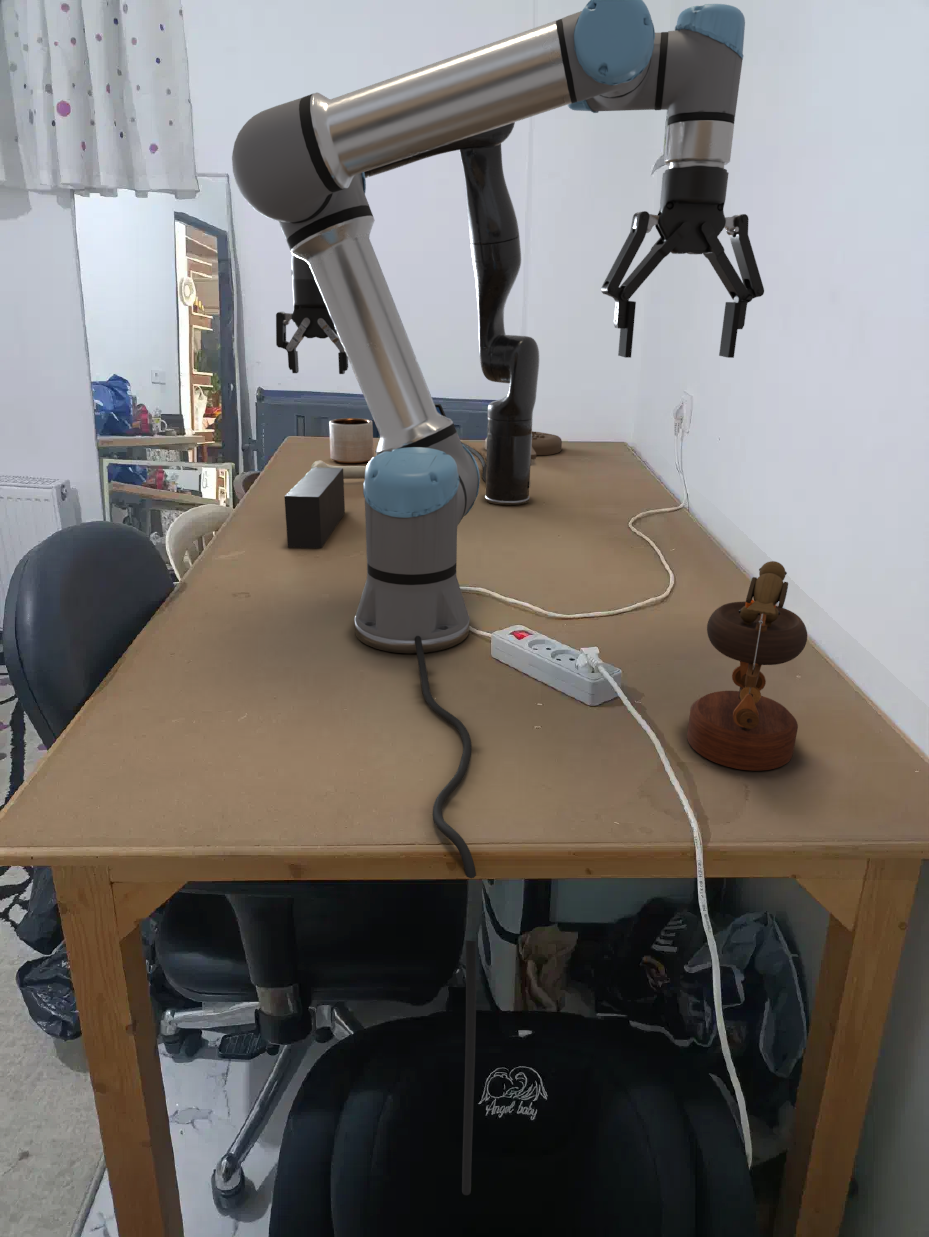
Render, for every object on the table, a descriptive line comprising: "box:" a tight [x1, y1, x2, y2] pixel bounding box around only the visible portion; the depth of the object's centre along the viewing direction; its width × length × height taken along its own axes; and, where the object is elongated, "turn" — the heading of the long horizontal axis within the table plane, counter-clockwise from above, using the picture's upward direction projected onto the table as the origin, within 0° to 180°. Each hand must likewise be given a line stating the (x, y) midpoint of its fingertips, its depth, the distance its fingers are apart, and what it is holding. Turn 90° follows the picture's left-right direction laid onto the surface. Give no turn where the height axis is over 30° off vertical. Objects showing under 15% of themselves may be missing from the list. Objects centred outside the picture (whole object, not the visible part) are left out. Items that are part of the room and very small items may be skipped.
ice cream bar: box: [484, 431, 563, 460], centre depth 224 cm, size 21×28×4 cm
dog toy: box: [310, 460, 367, 480], centre depth 190 cm, size 20×6×5 cm, turn 99°
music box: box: [686, 560, 808, 772], centre depth 84 cm, size 15×11×20 cm
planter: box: [328, 417, 375, 464], centre depth 212 cm, size 11×11×10 cm
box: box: [284, 467, 346, 549], centre depth 155 cm, size 23×6×9 cm, turn 177°
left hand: (675, 357), depth 107 cm, fingers open, 13 cm apart
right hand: (318, 373), depth 153 cm, fingers open, 8 cm apart
